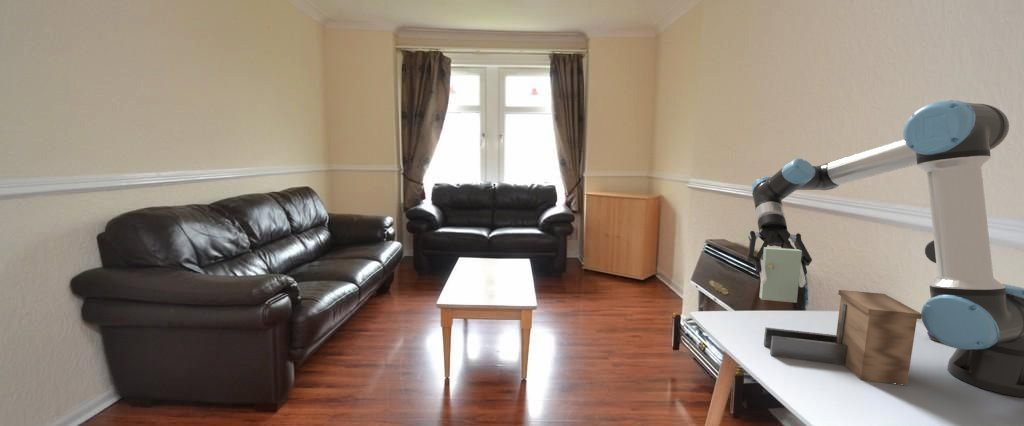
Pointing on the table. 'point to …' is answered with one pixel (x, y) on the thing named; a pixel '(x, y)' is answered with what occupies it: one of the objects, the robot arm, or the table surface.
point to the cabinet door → (781, 274)
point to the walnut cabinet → (876, 335)
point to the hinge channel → (805, 346)
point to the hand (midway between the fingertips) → (783, 283)
